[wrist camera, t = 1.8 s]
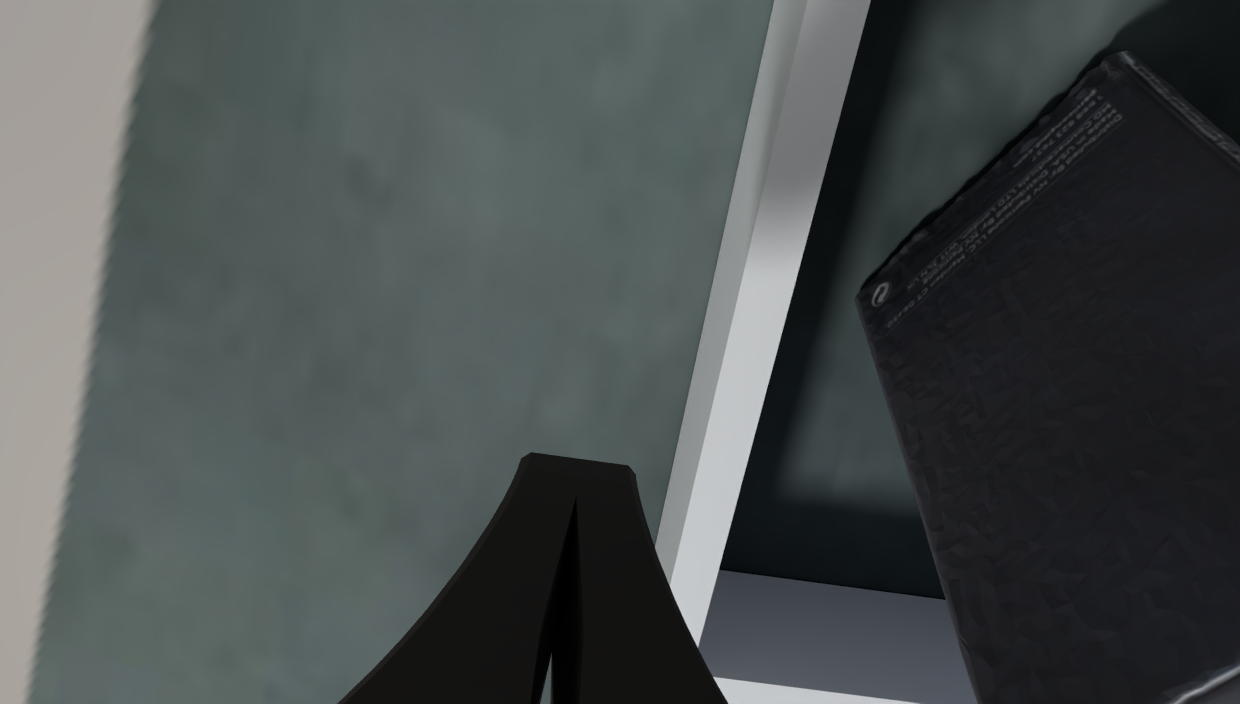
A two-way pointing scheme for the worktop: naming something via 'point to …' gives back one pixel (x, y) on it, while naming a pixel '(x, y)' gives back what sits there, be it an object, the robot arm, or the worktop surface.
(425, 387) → the worktop surface
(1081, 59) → the worktop surface
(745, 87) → the worktop surface
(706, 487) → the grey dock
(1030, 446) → the small box
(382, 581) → the worktop surface
